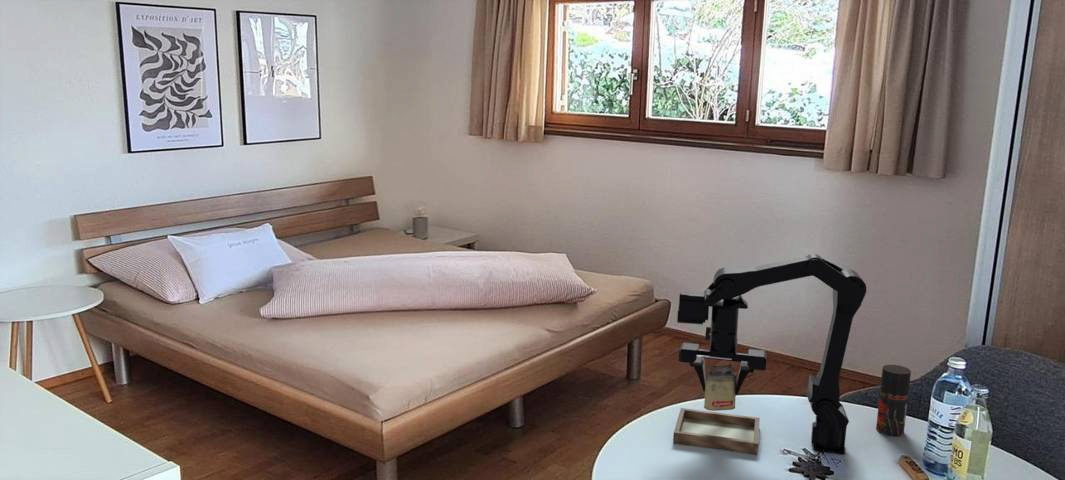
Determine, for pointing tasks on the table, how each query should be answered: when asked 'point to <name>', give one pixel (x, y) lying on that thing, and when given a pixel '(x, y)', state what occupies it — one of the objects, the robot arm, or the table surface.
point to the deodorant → (893, 400)
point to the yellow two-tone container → (720, 388)
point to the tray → (717, 431)
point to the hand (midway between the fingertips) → (720, 392)
